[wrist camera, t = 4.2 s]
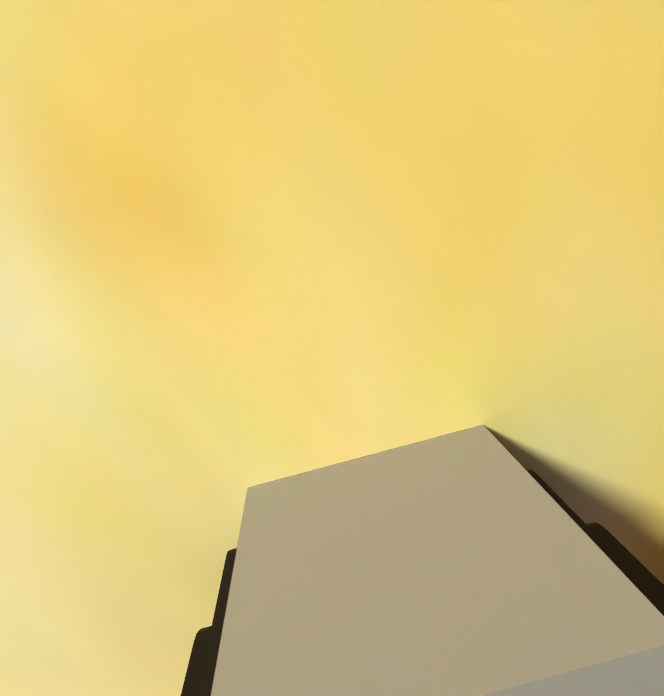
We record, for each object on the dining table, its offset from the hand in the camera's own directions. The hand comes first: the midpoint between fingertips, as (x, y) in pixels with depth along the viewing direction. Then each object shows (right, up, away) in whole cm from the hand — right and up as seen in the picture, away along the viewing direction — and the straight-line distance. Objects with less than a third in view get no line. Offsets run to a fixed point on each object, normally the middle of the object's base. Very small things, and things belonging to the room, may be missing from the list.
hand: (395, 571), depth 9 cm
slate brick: (0, 0, +1) cm, 1 cm away
